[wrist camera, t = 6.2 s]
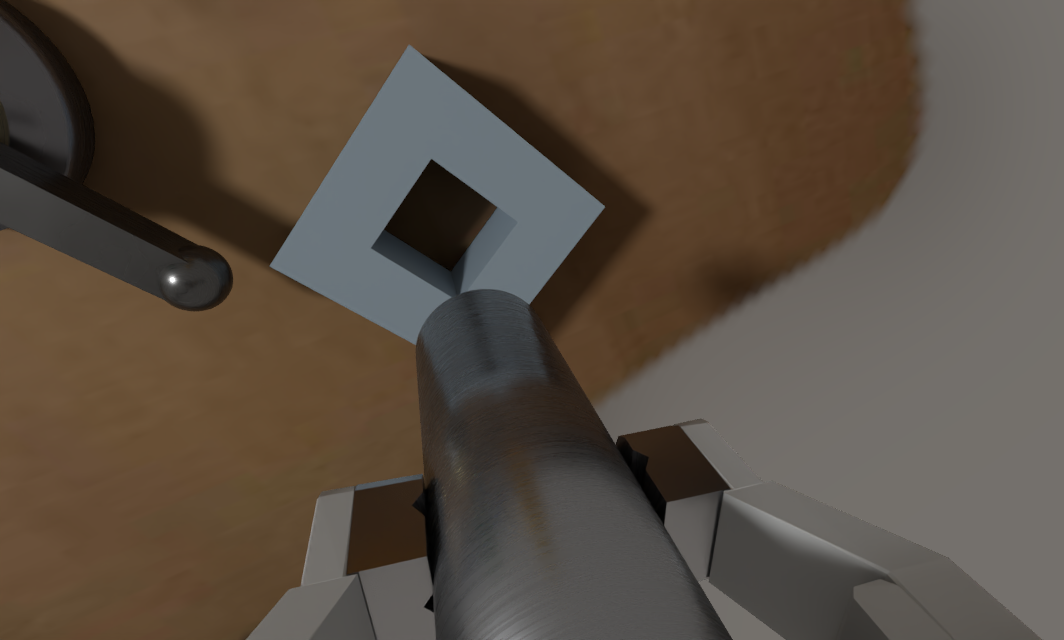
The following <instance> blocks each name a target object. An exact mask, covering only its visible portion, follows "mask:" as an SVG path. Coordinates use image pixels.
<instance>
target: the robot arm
mask: <svg viewBox="0 0 1064 640" xmlns="http://www.w3.org/2000/svg"><path fill="white" fill-rule="evenodd" d="M616 446H617V448H618V449H619V451H620V453H621V454H622V456H623V458H624V459H625V461H626V463H627V464H628V466H629V468H630V469H631V471H632V473H633V474H634V476H635V478H636V479H637V481H638V483H639V484H640V486H641V488H642V489H643V491H644V493H645V494H646V496H647V498H648V499H649V501H650V503H651V504H652V506H653V508H654V509H655V511H656V513H657V514H658V516H659V518H660V519H661V521H662V523H663V524H664V526H665V528H666V529H667V531H668V533H669V534H670V536H671V538H672V539H673V541H674V543H675V544H676V546H677V548H678V549H679V551H680V553H681V554H682V556H683V558H684V559H685V561H686V563H687V564H688V566H689V568H690V569H691V571H692V573H693V574H694V576H695V578H696V579H697V581H702V580H706V579H709V582H710V583H711V584H712V585H714V586H715V587H716V588H718V589H719V590H720V591H722V592H723V593H724V594H726V595H727V596H728V597H730V598H731V599H732V600H734V601H735V602H736V603H738V604H739V605H740V606H742V607H743V608H744V609H746V610H747V611H748V612H750V613H751V614H752V615H754V616H755V617H756V618H758V619H759V620H760V621H762V622H763V623H764V624H766V625H767V626H769V627H770V628H771V629H772V630H774V631H775V632H776V633H778V634H779V635H780V636H782V637H783V638H784V639H786V640H1042V639H1041V638H1040V637H1038V636H1037V635H1036V634H1035V633H1034V632H1033V631H1032V630H1030V629H1029V628H1028V627H1027V626H1026V625H1024V623H1023V622H1021V621H1020V620H1019V619H1018V618H1017V617H1016V616H1014V615H1013V614H1012V613H1011V612H1010V611H1009V610H1008V609H1006V608H1005V607H1004V606H1003V605H1002V604H1001V603H999V602H998V601H997V600H996V599H995V598H994V597H993V596H991V595H990V594H989V593H988V592H987V591H986V590H985V589H983V588H982V587H981V586H980V585H979V584H978V583H977V582H975V581H974V580H973V579H972V578H971V577H969V576H968V575H967V574H966V573H965V572H964V571H963V570H962V569H960V568H959V567H958V566H957V565H956V564H955V563H954V562H952V561H951V560H950V559H949V558H947V557H945V556H943V555H941V554H938V553H936V552H933V551H932V550H929V549H927V548H925V547H922V546H920V545H918V544H916V543H913V542H911V541H908V540H906V539H904V538H902V537H900V536H897V535H895V534H893V533H890V532H888V531H886V530H884V529H881V528H879V527H877V526H874V525H872V524H870V523H868V522H865V521H863V520H861V519H859V518H856V517H854V516H852V515H849V514H847V513H845V512H842V511H840V510H838V509H836V508H833V507H831V506H829V505H826V504H824V503H822V502H819V501H817V500H815V499H813V498H811V497H808V496H806V495H804V494H802V493H799V492H797V491H795V490H792V489H790V488H788V487H786V486H783V485H781V484H779V483H776V482H774V481H769V482H763V481H762V480H761V479H760V478H759V477H758V476H757V475H756V473H755V472H754V471H753V470H752V469H751V468H750V467H749V466H748V465H747V464H746V463H745V462H744V460H743V459H742V458H741V457H740V456H739V455H738V454H737V453H736V452H735V451H734V450H733V448H732V447H731V446H730V445H729V444H728V443H727V442H726V441H725V440H724V439H723V438H722V436H720V434H719V433H718V432H717V431H716V430H715V429H714V428H713V427H712V426H711V425H710V423H709V422H707V421H705V420H703V419H697V420H693V421H688V422H683V423H679V424H674V425H673V426H666V427H661V428H656V429H651V430H647V431H641V432H637V433H632V434H627V435H622V436H619V437H618V439H617V442H616ZM246 640H436V633H435V619H434V605H433V580H432V565H431V550H430V541H429V535H428V510H427V497H426V487H425V482H424V477H423V474H419V475H413V476H407V477H401V478H395V479H390V480H384V481H378V482H372V483H366V484H360V485H357V486H352V487H346V488H340V489H334V490H328V491H323V492H321V494H320V496H319V497H318V499H317V502H316V508H315V513H314V518H313V523H312V529H311V534H310V539H309V545H308V550H307V555H306V560H305V566H304V571H303V576H302V581H301V587H297V588H292V589H289V590H288V591H287V592H286V593H285V594H284V596H283V597H282V598H281V599H280V600H279V601H278V603H277V604H276V605H275V606H274V607H273V609H272V610H271V611H270V612H269V613H268V614H267V616H266V617H265V618H264V619H263V620H262V621H261V623H260V624H259V625H258V626H257V627H256V628H255V630H254V631H253V632H252V633H251V634H250V635H249V637H248V638H247V639H246Z"/></svg>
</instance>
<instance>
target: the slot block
mask: <svg viewBox="0 0 1064 640" xmlns="http://www.w3.org/2000/svg"><path fill="white" fill-rule="evenodd" d="M431 159H433V160H434V161H435V162H437V163H438V164H439V165H441V166H442V167H444V168H445V169H446V170H448V171H449V172H450V173H452V174H453V175H454V176H456V177H457V178H459V179H460V180H461V181H463V182H464V183H465V184H467V185H468V186H470V187H471V188H472V189H474V190H475V191H476V192H478V193H479V194H480V195H482V196H483V197H485V198H486V199H487V200H489V201H490V202H491V203H493V204H494V205H496V206H497V209H496V210H495V211H494V213H493V214H492V216H491V217H490V218H489V220H488V221H487V222H486V224H485V225H484V227H483V228H482V229H481V231H480V232H479V234H478V235H477V236H476V238H475V239H474V240H473V242H472V243H471V245H470V246H469V247H468V249H467V250H466V251H465V253H464V254H463V256H462V257H461V258H460V260H459V261H458V263H457V264H456V265H455V267H454V268H453V269H452V271H451V272H450V271H449V270H447V269H446V268H444V267H442V266H441V265H439V264H438V263H436V262H434V261H433V260H431V259H430V258H428V257H427V256H425V255H423V254H422V253H420V252H419V251H417V250H415V249H414V248H412V247H411V246H409V245H407V244H406V243H404V242H403V241H401V240H400V239H398V238H396V237H395V236H393V235H392V234H390V233H388V232H387V231H385V230H384V228H385V227H386V225H387V224H388V222H389V221H390V219H391V218H392V216H393V215H394V213H395V212H396V210H397V209H398V207H399V206H400V204H401V203H402V201H403V200H404V198H405V197H406V195H407V194H408V192H409V191H410V189H411V188H412V187H413V185H414V184H415V182H416V181H417V179H418V178H419V176H420V175H421V173H422V172H423V170H424V169H425V167H426V166H427V164H428V163H429V161H430V160H431ZM604 208H605V206H604V205H603V204H602V203H600V202H599V201H598V200H597V199H595V198H594V197H593V196H592V195H591V194H589V193H588V192H587V191H586V190H585V189H583V188H582V187H581V186H580V185H579V184H577V183H576V182H575V181H574V180H572V179H571V178H570V177H569V176H568V175H566V174H565V173H564V172H563V171H562V170H560V169H559V168H558V167H557V166H556V165H554V164H553V163H552V162H551V161H549V160H548V159H547V158H546V157H545V156H543V155H542V154H541V153H540V152H539V151H537V150H536V149H535V148H534V147H533V146H531V145H530V144H529V143H528V142H526V141H525V140H524V139H523V138H522V137H520V136H519V135H518V134H517V133H516V132H514V131H513V130H512V129H511V128H510V127H508V126H507V125H506V124H505V123H503V122H502V121H501V120H500V119H499V118H497V117H496V116H495V115H494V114H493V113H491V112H490V111H489V110H488V109H487V108H485V107H484V106H483V105H482V104H480V103H479V102H478V101H477V100H476V99H474V98H473V97H472V96H471V95H470V94H468V93H467V92H466V91H465V90H464V89H462V88H461V87H460V86H459V85H457V84H456V83H455V82H454V81H453V80H451V79H450V78H449V77H448V76H447V75H445V74H444V73H443V72H442V71H441V70H439V69H438V68H437V67H436V66H435V65H433V64H432V63H431V62H430V61H428V60H427V59H426V58H425V57H424V56H422V55H421V54H420V53H419V52H418V51H416V50H415V49H414V48H413V47H412V46H410V45H409V46H408V47H407V49H406V50H405V52H404V53H403V55H402V57H401V58H400V60H399V61H398V63H397V65H396V66H395V68H394V69H393V71H392V73H391V74H390V76H389V77H388V79H387V80H386V82H385V84H384V85H383V87H382V88H381V90H380V92H379V93H378V95H377V96H376V98H375V99H374V101H373V103H372V104H371V106H370V107H369V109H368V111H367V112H366V114H365V115H364V117H363V119H362V120H361V122H360V123H359V125H358V126H357V128H356V130H355V131H354V133H353V134H352V136H351V138H350V139H349V141H348V142H347V144H346V146H345V147H344V149H343V150H342V152H341V153H340V155H339V157H338V158H337V160H336V161H335V163H334V165H333V166H332V168H331V169H330V171H329V173H328V174H327V176H326V177H325V179H324V180H323V182H322V184H321V185H320V187H319V188H318V190H317V192H316V193H315V195H314V196H313V198H312V199H311V201H310V203H309V204H308V206H307V207H306V209H305V211H304V212H303V214H302V215H301V217H300V219H299V220H298V222H297V223H296V225H295V226H294V228H293V230H292V231H291V233H290V234H289V236H288V238H287V239H286V241H285V242H284V244H283V246H282V247H281V249H280V250H279V252H278V253H277V255H276V257H275V258H274V260H273V261H272V263H271V265H270V267H271V268H273V269H275V270H277V271H279V272H281V273H283V274H285V275H286V276H288V277H290V278H292V279H294V280H296V281H298V282H299V283H301V284H303V285H305V286H307V287H309V288H311V289H312V290H314V291H316V292H318V293H320V294H322V295H324V296H326V297H327V298H329V299H331V300H333V301H335V302H337V303H339V304H340V305H342V306H344V307H346V308H348V309H350V310H352V311H354V312H355V313H357V314H359V315H361V316H363V317H365V318H367V319H368V320H370V321H372V322H374V323H376V324H378V325H380V326H381V327H383V328H385V329H387V330H389V331H391V332H393V333H395V334H396V335H398V336H400V337H402V338H404V339H406V340H408V341H409V342H411V343H413V344H415V345H416V342H417V338H418V335H419V332H420V330H421V327H422V325H423V324H424V322H425V321H426V319H427V318H428V316H429V315H430V314H431V313H432V312H433V311H434V310H435V309H436V308H437V307H438V306H439V305H441V304H442V303H443V302H445V301H446V300H448V299H450V298H452V297H453V296H456V295H458V294H461V293H463V292H467V291H471V290H477V289H495V290H501V291H505V292H508V293H511V294H513V295H515V296H517V297H519V298H521V299H522V300H524V301H525V302H527V303H528V304H530V303H531V302H532V300H533V299H534V298H535V296H536V295H537V294H538V293H539V291H540V290H541V289H542V287H543V286H544V285H545V284H546V282H547V281H548V280H549V278H550V277H551V276H552V275H553V273H554V272H555V271H556V269H557V268H558V267H559V266H560V264H561V263H562V262H563V260H564V259H565V258H566V257H567V255H568V254H569V253H570V251H571V250H572V249H573V248H574V246H575V245H576V244H577V242H578V241H579V240H580V238H581V237H582V236H583V235H584V233H585V232H586V231H587V229H588V228H589V227H590V226H591V224H592V223H593V222H594V220H595V219H596V218H597V217H598V215H599V214H600V213H601V211H602V210H603V209H604Z"/></svg>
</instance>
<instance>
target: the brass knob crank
mask: <svg viewBox="0 0 1064 640" xmlns="http://www.w3.org/2000/svg"><path fill="white" fill-rule="evenodd" d="M9 143H10V137H9V126H8V120H7V117H6V114H5V110H4V107H3V105H2V103H1V101H0V224H2V225H5V226H7V227H9V228H11V229H13V230H15V231H17V232H20V233H22V234H24V235H26V236H28V237H30V238H32V239H35V240H37V241H39V242H41V243H43V244H45V245H48V246H50V247H52V248H54V249H56V250H58V251H60V252H63V253H65V254H67V255H69V256H71V257H73V258H75V259H78V260H80V261H82V262H84V263H86V264H88V265H90V266H93V267H95V268H97V269H99V270H101V271H103V272H106V273H108V274H110V275H112V276H114V277H116V278H118V279H121V280H123V281H125V282H127V283H129V284H131V285H133V286H136V287H138V288H140V289H142V290H144V291H146V292H148V293H151V294H153V295H155V296H157V297H159V298H161V299H164V300H165V301H166V302H168V303H169V304H171V305H172V306H174V307H176V308H179V309H182V310H186V311H204V310H208V309H211V308H213V307H215V306H217V305H219V304H220V303H222V302H223V301H224V300H225V299H226V298H227V296H228V295H229V293H230V291H231V289H232V285H233V274H232V270H231V268H230V265H229V264H228V262H227V261H226V260H225V258H224V257H223V256H221V255H220V254H219V253H218V252H216V251H214V250H212V249H210V248H208V247H205V246H200V245H197V244H195V243H193V242H191V241H189V240H187V239H185V238H183V237H181V236H180V235H178V234H176V233H174V232H172V231H170V230H168V229H166V228H164V227H162V226H160V225H159V224H157V223H155V222H153V221H151V220H149V219H147V218H145V217H143V216H141V215H139V214H137V213H136V212H134V211H132V210H130V209H128V208H126V207H124V206H122V205H120V204H118V203H116V202H114V201H113V200H111V199H109V198H107V197H105V196H103V195H101V194H99V193H97V192H95V191H93V190H92V189H90V188H88V187H86V186H84V185H82V184H80V183H78V182H76V181H74V180H72V179H70V178H69V177H67V176H65V175H63V174H61V173H59V172H57V171H55V170H53V169H51V168H49V167H47V166H46V165H44V164H42V163H40V162H38V161H36V160H34V159H32V158H30V157H28V156H26V155H25V154H23V153H21V152H19V151H17V150H15V149H13V148H11V147H9Z"/></svg>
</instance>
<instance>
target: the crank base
mask: <svg viewBox="0 0 1064 640" xmlns="http://www.w3.org/2000/svg"><path fill="white" fill-rule="evenodd" d="M0 101H1V103H2V105H3V107H4V110H5V114H6V117H7V120H8V126H9V137H10V143H9V147H11V148H13V149H15V150H17V151H19V152H21V153H23V154H25V155H26V156H28V157H30V158H32V159H34V160H36V161H38V162H40V163H42V164H44V165H46V166H47V167H49V168H51V169H53V170H55V171H57V172H59V173H61V174H63V175H65V176H67V177H69V178H70V179H72V180H74V181H76V182H78V183H80V184H82V183H83V181H84V180H85V178H86V176H87V174H88V171H89V169H90V166H91V163H92V159H93V154H94V144H95V133H94V124H93V118H92V114H91V110H90V106H89V103H88V101H87V98H86V96H85V93H84V91H83V88H82V86H81V84H80V82H79V81H78V79H77V77H76V75H75V73H74V71H73V70H72V68H71V67H70V65H69V64H68V62H67V61H66V60H65V58H64V57H63V55H62V54H61V53H60V51H59V50H58V49H57V48H56V47H55V46H54V44H53V43H52V42H51V41H50V40H49V38H48V37H47V36H46V35H45V34H44V33H43V32H42V31H41V30H40V29H39V28H38V27H37V26H35V25H34V24H33V23H32V22H31V21H30V20H29V19H28V18H26V17H25V16H24V15H23V14H21V13H20V12H19V11H18V10H17V9H15V8H14V7H13V6H11V5H10V4H8V3H7V2H5V1H4V0H0ZM6 228H9V227H7V226H5V225H2V224H0V230H3V229H6Z"/></svg>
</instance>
